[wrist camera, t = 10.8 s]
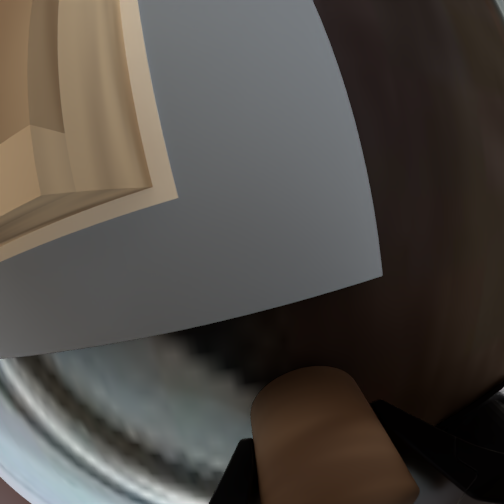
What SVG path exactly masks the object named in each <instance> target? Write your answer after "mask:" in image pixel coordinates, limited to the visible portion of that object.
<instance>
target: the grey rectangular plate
mask: <svg viewBox="0 0 504 504" xmlns="http://www.w3.org/2000/svg"><path fill="white" fill-rule="evenodd" d="M119 1H120V11H121V20H122V29H123V37H124V44H125V51H126V58H127V65H128V71H129V77H130V83H131V88H132V94H133V99H134V105H135V110H136V115H137V120H138V125H139V130H140V134H141V139H142V143H143V148H144V152H145V157H146V161H147V165H148V169H149V173H150V177H151V181H152V185H153V187H151V188H148V189H145V190H142V191H139V192H136V193H133V194H130V195H127V196H124V197H121V198H118V199H115V200H112V201H109V202H107V203H104V204H101V205H98V206H96V207H93V208H90V209H88V210H85V211H82V212H80V213H77V214H75V215H72V216H69V217H67V218H64V219H62V220H60V221H57V222H55V223H52V224H50V225H47V226H45V227H43V228H40V229H38V230H36V231H33V232H31V233H29V234H27V235H24V236H22V237H20V238H18V239H16V240H14V241H11V242H9V243H7V244H5V245H3V246H1V247H0V359H4V358H14V357H23V356H32V355H40V354H48V353H55V352H62V351H69V350H76V349H82V348H89V347H95V346H101V345H107V344H113V343H118V342H124V341H129V340H135V339H140V338H145V337H150V336H155V335H160V334H165V333H170V332H175V331H179V330H184V329H189V328H193V327H198V326H202V325H207V324H211V323H215V322H219V321H224V320H228V319H232V318H236V317H240V316H244V315H248V314H252V313H256V312H260V311H264V310H268V309H272V308H275V307H279V306H283V305H286V304H290V303H294V302H297V301H301V300H305V299H308V298H312V297H315V296H319V295H322V294H325V293H329V292H332V291H335V290H339V289H342V288H345V287H349V286H352V285H355V284H358V283H362V282H365V281H368V280H371V279H374V278H377V277H380V276H383V275H382V265H381V256H380V248H379V240H378V233H377V226H376V220H375V213H374V207H373V202H372V196H371V191H370V185H369V180H368V175H367V170H366V166H365V161H364V157H363V152H362V148H361V144H360V140H359V136H358V132H357V128H356V124H355V120H354V116H353V113H352V109H351V106H350V102H349V99H348V96H347V92H346V89H345V86H344V83H343V79H342V76H341V73H340V70H339V67H338V64H337V61H336V59H335V56H334V53H333V50H332V47H331V45H330V42H329V39H328V37H327V34H326V32H325V29H324V27H323V24H322V22H321V19H320V17H319V14H318V12H317V10H316V7H315V5H314V3H313V1H312V0H119Z"/></svg>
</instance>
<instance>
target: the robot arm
mask: <svg viewBox="0 0 504 504" xmlns="http://www.w3.org/2000/svg"><path fill="white" fill-rule="evenodd" d="M370 406H371V408H372V409H373V411H374V413H375V414H376V416H377V418H378V419H379V421H380V423H381V424H382V426H383V428H384V429H385V431H386V433H387V434H388V436H389V438H390V439H391V441H392V443H393V444H394V446H395V448H396V449H397V451H398V453H399V454H400V456H401V458H402V460H403V461H404V463H405V465H406V466H407V468H408V470H409V471H410V473H411V475H412V477H413V478H414V480H415V482H416V483H417V485H418V487H419V489H420V493H419V496H418V497H417V499H416V501H415V502H414V503H413V504H504V382H502V383H501V384H500V385H498V386H497V387H496V388H494V389H493V390H492V391H490V392H489V393H488V394H486V395H485V396H483V397H482V398H480V399H479V400H477V401H476V402H474V403H473V404H471V405H470V406H468V407H467V408H465V409H464V410H462V411H460V412H459V413H457V414H456V415H454V416H452V417H451V418H449V419H447V420H445V421H444V422H442V423H441V424H440V425H439V426H438V427H437V428H436V427H434V426H432V425H430V424H428V423H426V422H424V421H422V420H420V419H418V418H416V417H414V416H412V415H410V414H408V413H406V412H404V411H402V410H400V409H399V408H397V407H395V406H393V405H391V404H389V403H387V402H385V401H383V400H381V399H380V400H377V401H374V402H372V403H370ZM209 504H261V502H260V494H259V486H258V478H257V469H256V460H255V452H254V443H253V439H252V438H247V439H242V440H240V441H239V443H238V445H237V447H236V449H235V451H234V454H233V456H232V458H231V460H230V462H229V464H228V466H227V468H226V470H225V472H224V474H223V476H222V478H221V480H220V482H219V484H218V486H217V488H216V490H215V492H214V494H213V496H212V498H211V500H210V502H209Z"/></svg>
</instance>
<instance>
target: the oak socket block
mask: <svg viewBox="0 0 504 504" xmlns="http://www.w3.org/2000/svg"><path fill="white" fill-rule="evenodd" d="M151 187H153V185H152V181H151V177H150V173H149V169H148V165H147V161H146V157H145V152H144V148H143V143H142V139H141V134H140V130H139V125H138V120H137V115H136V110H135V105H134V99H133V94H132V88H131V83H130V77H129V71H128V65H127V58H126V51H125V44H124V37H123V29H122V20H121V11H120V1H119V0H0V247H1V246H3V245H5V244H7V243H9V242H11V241H14V240H16V239H18V238H20V237H22V236H24V235H27V234H29V233H31V232H33V231H36V230H38V229H40V228H43V227H45V226H47V225H50V224H52V223H55V222H57V221H60V220H62V219H64V218H67V217H69V216H72V215H75V214H77V213H80V212H82V211H85V210H88V209H90V208H93V207H96V206H98V205H101V204H104V203H107V202H109V201H112V200H115V199H118V198H121V197H124V196H127V195H130V194H133V193H136V192H139V191H142V190H145V189H148V188H151Z"/></svg>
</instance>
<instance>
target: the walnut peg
mask: <svg viewBox="0 0 504 504" xmlns="http://www.w3.org/2000/svg"><path fill="white" fill-rule="evenodd" d="M250 416H251V426H252V435H253V443H254V452H255V460H256V469H257V478H258V486H259V494H260V502H261V504H413V503H414V502H415V501H416V499H417V497H418V496H419V493H420V489H419V487H418V485H417V483H416V482H415V480H414V478H413V477H412V475H411V473H410V471H409V470H408V468H407V466H406V465H405V463H404V461H403V460H402V458H401V456H400V454H399V453H398V451H397V449H396V448H395V446H394V444H393V443H392V441H391V439H390V438H389V436H388V434H387V433H386V431H385V429H384V428H383V426H382V424H381V423H380V421H379V419H378V418H377V416H376V414H375V413H374V411H373V409H372V408H371V406H370V405H369V403H368V401H367V400H366V398H365V396H364V395H363V393H362V391H361V390H360V388H359V387H358V385H357V383H356V382H355V380H354V379H353V378H352V377H351V376H350V375H349V374H348V373H346V372H345V371H343V370H341V369H338V368H334V367H329V366H311V367H304V368H300V369H296V370H293V371H290V372H288V373H286V374H283V375H281V376H280V377H278V378H276V379H274V380H273V381H272V382H270V383H269V384H268V385H266V386H265V387H264V388H263V389H262V390H261V391H260V392H259V394H258V395H257V397H256V398H255V400H254V402H253V404H252V407H251V413H250Z"/></svg>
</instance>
